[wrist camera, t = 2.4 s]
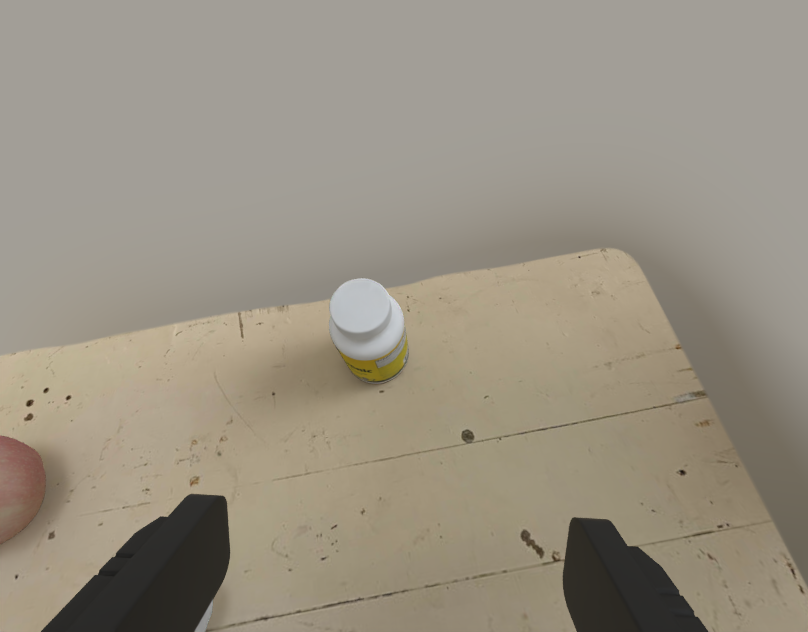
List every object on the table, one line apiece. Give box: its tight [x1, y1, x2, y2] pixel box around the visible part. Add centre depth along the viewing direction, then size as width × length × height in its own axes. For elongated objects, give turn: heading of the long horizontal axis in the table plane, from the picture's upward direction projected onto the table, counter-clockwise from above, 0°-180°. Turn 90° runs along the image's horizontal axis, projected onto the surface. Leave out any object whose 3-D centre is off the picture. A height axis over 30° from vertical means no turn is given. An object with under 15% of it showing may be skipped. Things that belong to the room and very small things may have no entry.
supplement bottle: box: [329, 278, 408, 384], centre depth 30 cm, size 5×5×10 cm
